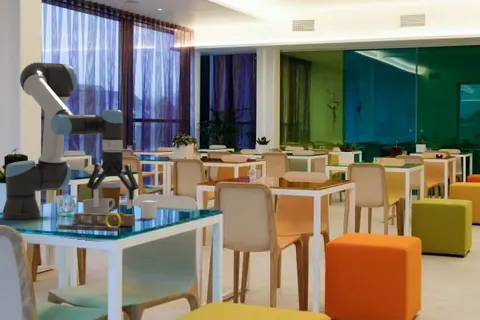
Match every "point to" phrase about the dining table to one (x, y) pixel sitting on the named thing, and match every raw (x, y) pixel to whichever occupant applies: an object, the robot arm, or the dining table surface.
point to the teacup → (102, 208)
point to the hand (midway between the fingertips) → (112, 207)
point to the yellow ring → (113, 214)
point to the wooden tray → (100, 221)
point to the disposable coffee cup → (111, 192)
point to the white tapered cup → (149, 209)
